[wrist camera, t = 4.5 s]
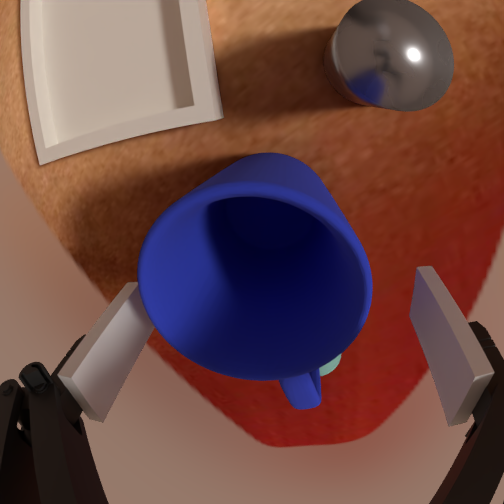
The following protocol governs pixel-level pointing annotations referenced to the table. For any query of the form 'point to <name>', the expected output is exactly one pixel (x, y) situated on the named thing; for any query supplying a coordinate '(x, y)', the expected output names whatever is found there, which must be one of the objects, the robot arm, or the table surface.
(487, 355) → the robot arm
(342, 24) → the tin
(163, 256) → the mug
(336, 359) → the ball
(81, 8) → the tray
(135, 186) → the table surface
